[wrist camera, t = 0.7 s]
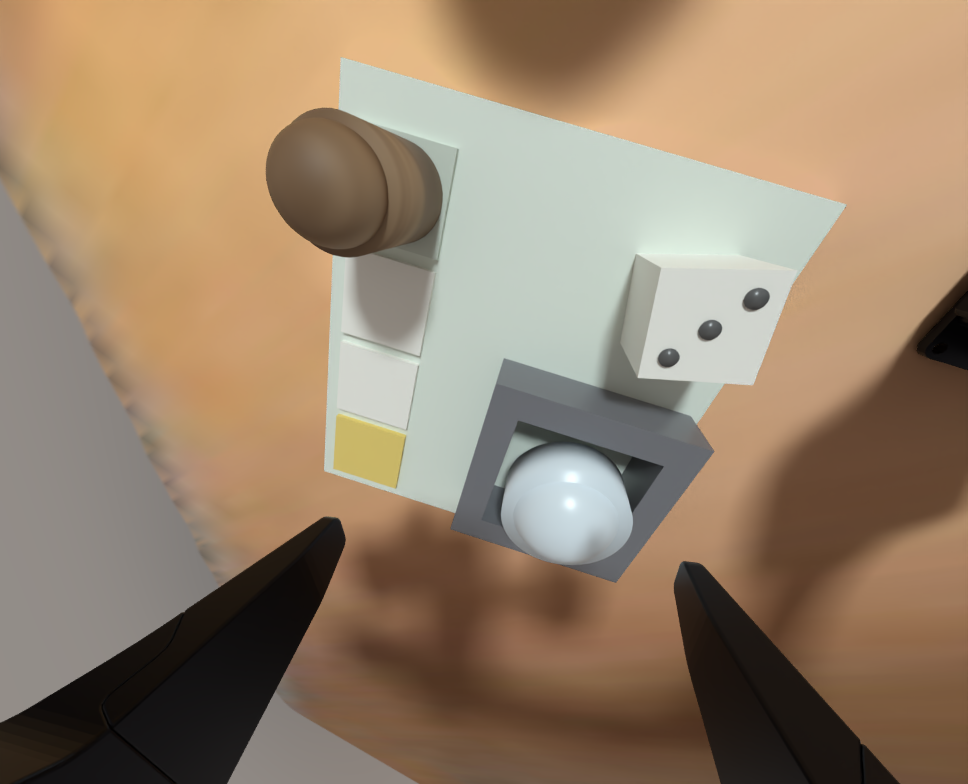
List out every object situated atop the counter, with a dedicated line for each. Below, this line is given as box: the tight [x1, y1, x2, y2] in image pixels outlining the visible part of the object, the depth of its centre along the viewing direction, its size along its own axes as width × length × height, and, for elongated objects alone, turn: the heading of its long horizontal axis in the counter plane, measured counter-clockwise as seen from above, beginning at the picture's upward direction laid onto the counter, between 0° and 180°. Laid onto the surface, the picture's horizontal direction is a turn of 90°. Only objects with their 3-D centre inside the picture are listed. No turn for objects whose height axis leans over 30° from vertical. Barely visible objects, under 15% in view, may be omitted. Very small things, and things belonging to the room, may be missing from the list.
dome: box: [501, 442, 633, 565], centre depth 18 cm, size 6×6×5 cm
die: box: [620, 253, 798, 385], centre depth 14 cm, size 4×4×4 cm
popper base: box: [451, 358, 714, 583], centre depth 19 cm, size 10×10×3 cm
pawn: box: [266, 108, 443, 258], centre depth 12 cm, size 4×4×7 cm
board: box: [324, 57, 846, 513], centre depth 19 cm, size 20×22×1 cm
